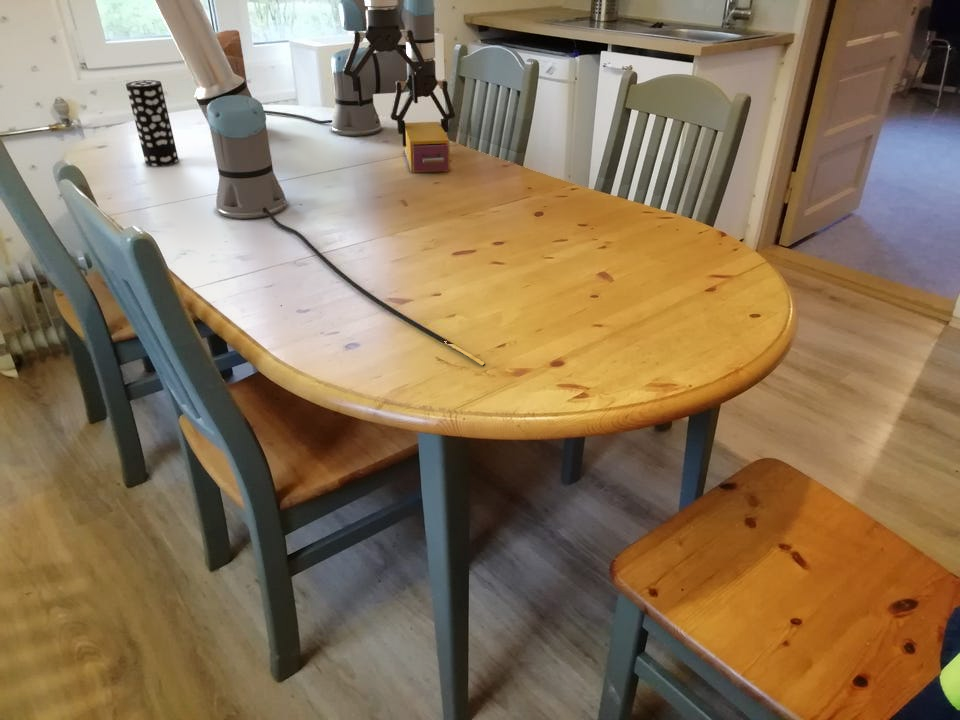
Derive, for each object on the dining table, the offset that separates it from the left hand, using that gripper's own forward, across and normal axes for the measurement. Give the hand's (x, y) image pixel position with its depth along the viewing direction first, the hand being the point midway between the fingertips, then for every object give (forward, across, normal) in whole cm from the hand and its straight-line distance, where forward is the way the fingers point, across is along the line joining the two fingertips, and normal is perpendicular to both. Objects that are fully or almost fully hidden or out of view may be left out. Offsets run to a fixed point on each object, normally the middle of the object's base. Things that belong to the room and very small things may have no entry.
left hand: (388, 103), depth 170 cm
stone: (+17, +42, -51) cm, 68 cm away
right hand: (+15, -11, -15) cm, 24 cm away
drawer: (+17, -10, -4) cm, 20 cm away
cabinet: (+18, -10, -10) cm, 23 cm away
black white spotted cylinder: (+7, +60, -23) cm, 64 cm away
